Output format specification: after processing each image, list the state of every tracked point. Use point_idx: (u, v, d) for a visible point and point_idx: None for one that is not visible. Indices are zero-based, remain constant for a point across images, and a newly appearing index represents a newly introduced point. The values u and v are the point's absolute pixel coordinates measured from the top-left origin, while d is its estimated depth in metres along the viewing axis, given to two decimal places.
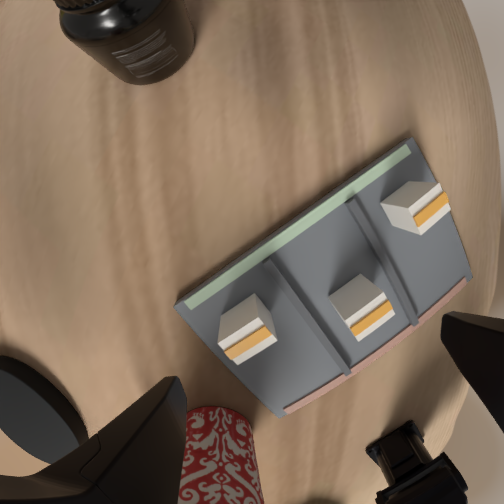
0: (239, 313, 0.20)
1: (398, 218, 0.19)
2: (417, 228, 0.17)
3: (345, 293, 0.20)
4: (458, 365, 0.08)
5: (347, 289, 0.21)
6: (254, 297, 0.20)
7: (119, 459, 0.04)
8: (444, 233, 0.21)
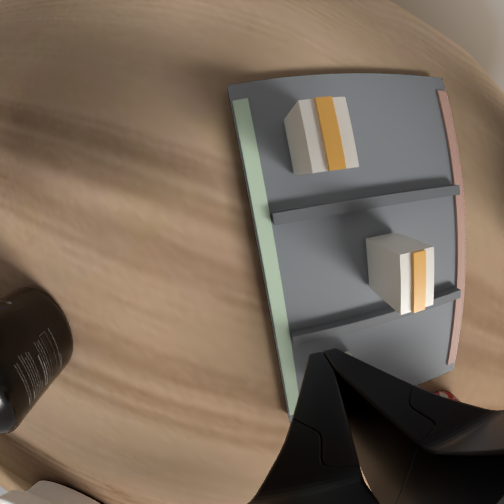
0: None
1: None
2: None
3: (376, 275, 0.15)
4: None
5: (373, 268, 0.16)
6: None
7: (348, 435, 0.04)
8: (373, 94, 0.14)
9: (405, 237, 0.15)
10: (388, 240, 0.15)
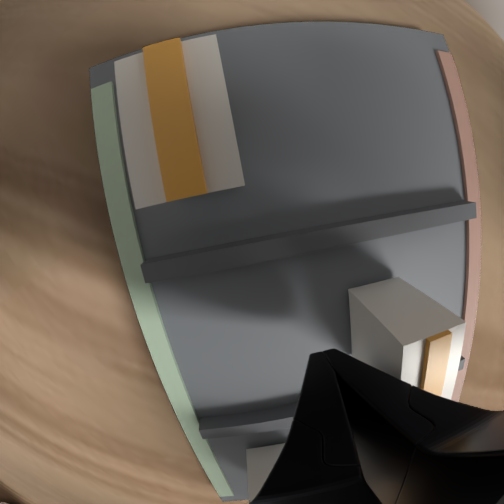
0: None
1: None
2: (217, 190, 0.05)
3: (362, 351, 0.09)
4: None
5: (359, 339, 0.09)
6: (247, 462, 0.11)
7: (349, 435, 0.04)
8: (325, 52, 0.08)
9: (414, 291, 0.08)
10: (385, 298, 0.09)
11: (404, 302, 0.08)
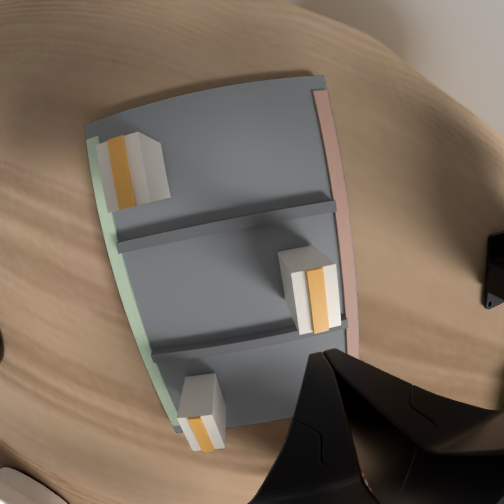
0: None
1: None
2: (140, 204, 0.12)
3: (286, 290, 0.16)
4: None
5: (284, 283, 0.16)
6: (184, 384, 0.17)
7: (348, 435, 0.04)
8: (223, 109, 0.15)
9: (316, 251, 0.15)
10: (296, 255, 0.15)
11: (306, 256, 0.15)
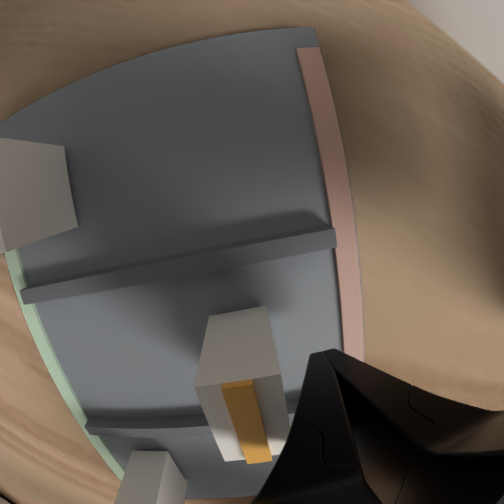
0: None
1: None
2: None
3: None
4: None
5: None
6: (129, 461, 0.11)
7: (349, 435, 0.04)
8: (152, 86, 0.09)
9: (264, 325, 0.09)
10: (230, 330, 0.09)
11: (242, 338, 0.08)
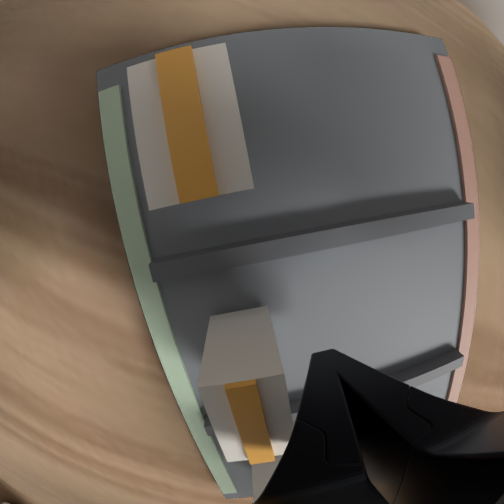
0: None
1: None
2: (227, 192, 0.06)
3: None
4: None
5: None
6: None
7: (352, 434, 0.04)
8: (328, 57, 0.09)
9: (266, 325, 0.09)
10: (231, 330, 0.09)
11: (244, 338, 0.08)
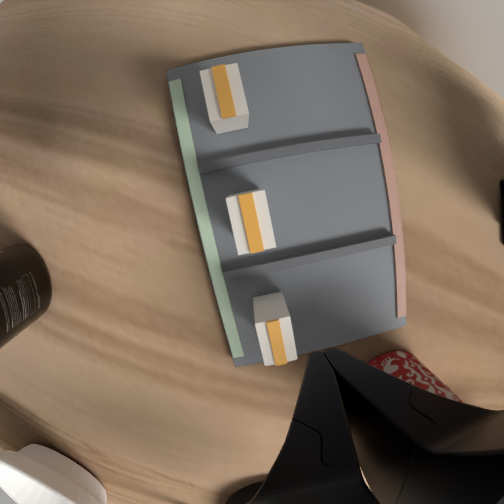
0: None
1: (232, 125, 0.16)
2: (239, 115, 0.14)
3: None
4: None
5: None
6: (253, 302, 0.20)
7: (348, 435, 0.04)
8: (288, 63, 0.17)
9: (258, 189, 0.17)
10: None
11: (247, 192, 0.17)
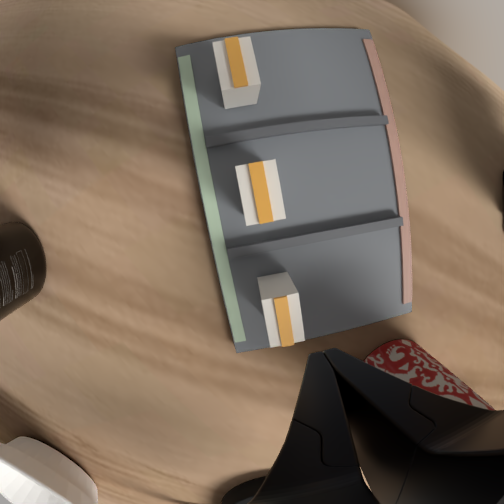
0: None
1: (242, 98, 0.16)
2: (251, 85, 0.14)
3: None
4: None
5: None
6: (258, 282, 0.19)
7: (348, 435, 0.04)
8: (297, 44, 0.17)
9: None
10: None
11: None
